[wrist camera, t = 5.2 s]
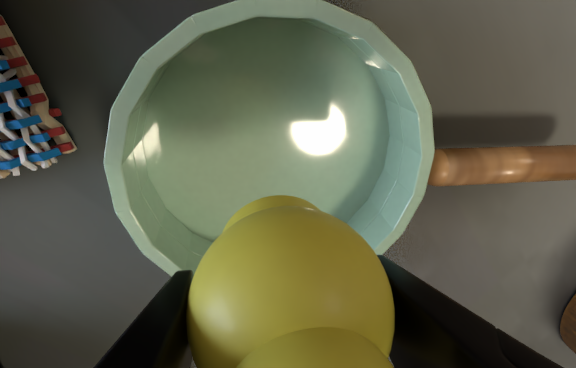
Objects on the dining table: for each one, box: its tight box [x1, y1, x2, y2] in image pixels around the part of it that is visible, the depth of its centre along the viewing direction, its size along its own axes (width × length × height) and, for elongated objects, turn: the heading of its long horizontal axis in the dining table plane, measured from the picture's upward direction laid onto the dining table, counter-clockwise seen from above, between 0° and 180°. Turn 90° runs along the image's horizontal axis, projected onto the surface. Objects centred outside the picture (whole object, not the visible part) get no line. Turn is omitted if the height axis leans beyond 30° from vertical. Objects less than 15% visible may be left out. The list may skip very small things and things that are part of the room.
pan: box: [103, 0, 435, 277], centre depth 17 cm, size 15×15×4 cm
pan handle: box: [427, 145, 576, 186], centre depth 18 cm, size 2×12×2 cm, turn 88°
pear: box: [186, 195, 395, 368], centre depth 7 cm, size 5×5×8 cm
